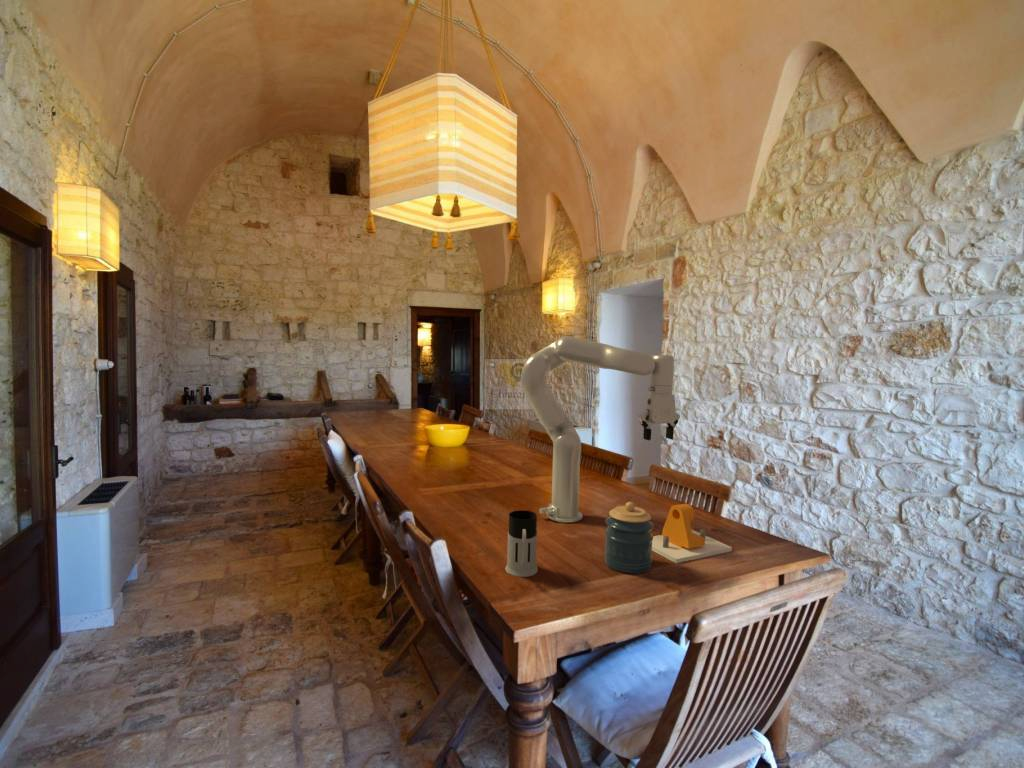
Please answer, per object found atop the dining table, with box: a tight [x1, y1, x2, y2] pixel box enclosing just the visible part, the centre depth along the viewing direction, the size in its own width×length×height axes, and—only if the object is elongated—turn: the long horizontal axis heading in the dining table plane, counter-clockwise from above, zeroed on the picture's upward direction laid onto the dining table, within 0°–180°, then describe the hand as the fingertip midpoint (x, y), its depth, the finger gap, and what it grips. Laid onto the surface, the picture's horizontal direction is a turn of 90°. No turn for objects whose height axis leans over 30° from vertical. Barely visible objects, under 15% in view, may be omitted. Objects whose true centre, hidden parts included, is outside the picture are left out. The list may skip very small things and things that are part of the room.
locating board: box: [652, 528, 733, 564], centre depth 149 cm, size 22×16×4 cm
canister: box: [603, 501, 655, 574], centre depth 136 cm, size 13×13×18 cm
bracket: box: [661, 503, 705, 549], centre depth 149 cm, size 11×7×12 cm, turn 26°
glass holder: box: [504, 509, 538, 578], centre depth 129 cm, size 9×14×15 cm, turn 2°
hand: (658, 439), depth 171 cm, fingers open, 9 cm apart
